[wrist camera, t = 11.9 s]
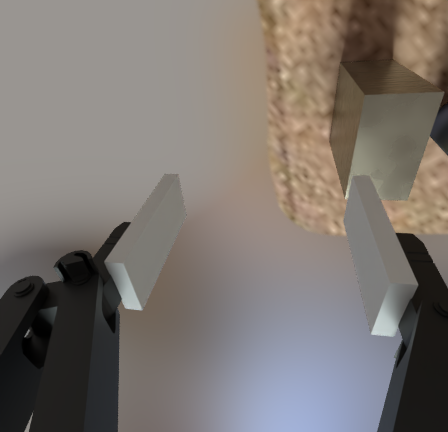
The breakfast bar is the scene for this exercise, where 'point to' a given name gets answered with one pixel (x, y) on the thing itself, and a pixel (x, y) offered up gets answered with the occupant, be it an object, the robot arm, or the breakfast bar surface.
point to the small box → (441, 129)
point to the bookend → (382, 125)
